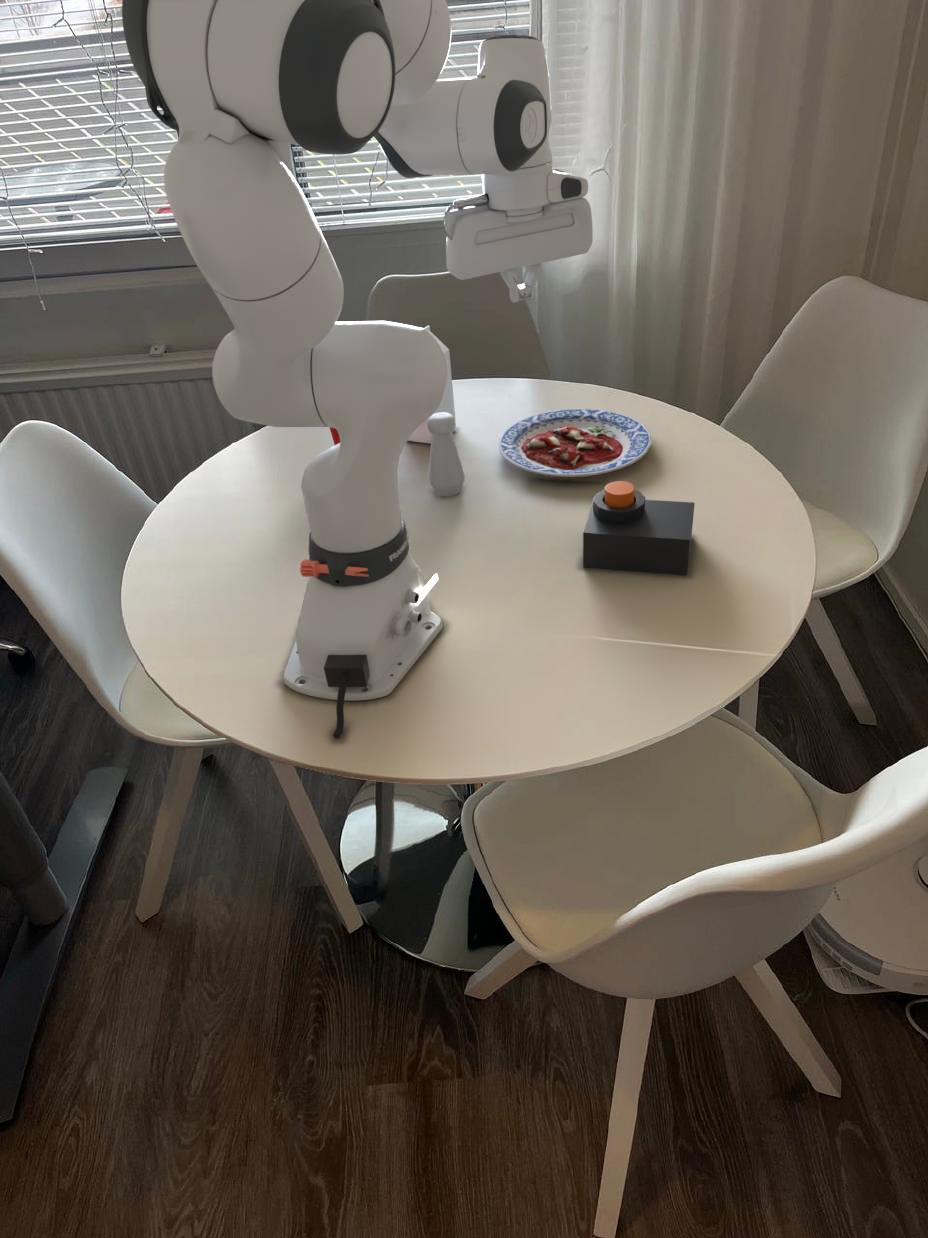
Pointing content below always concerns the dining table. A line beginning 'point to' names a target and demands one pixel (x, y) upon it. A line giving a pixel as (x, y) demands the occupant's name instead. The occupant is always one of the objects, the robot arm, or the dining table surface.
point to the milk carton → (445, 406)
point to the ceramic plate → (575, 442)
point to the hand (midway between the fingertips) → (522, 299)
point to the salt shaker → (444, 456)
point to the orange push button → (619, 494)
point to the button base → (639, 536)
